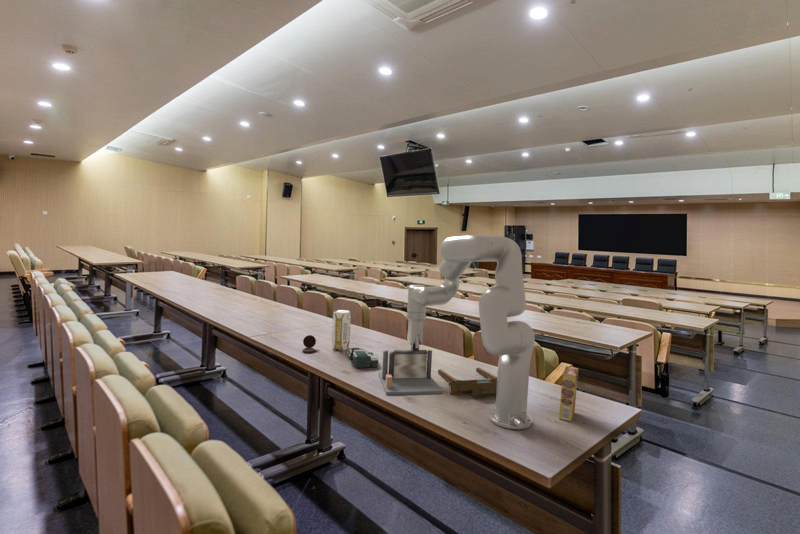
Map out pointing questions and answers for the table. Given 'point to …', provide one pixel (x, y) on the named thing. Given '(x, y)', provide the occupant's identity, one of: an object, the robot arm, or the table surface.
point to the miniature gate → (472, 384)
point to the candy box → (568, 393)
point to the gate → (407, 363)
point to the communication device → (362, 358)
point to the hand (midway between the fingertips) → (414, 360)
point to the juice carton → (341, 329)
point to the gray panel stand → (408, 380)
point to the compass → (309, 344)
